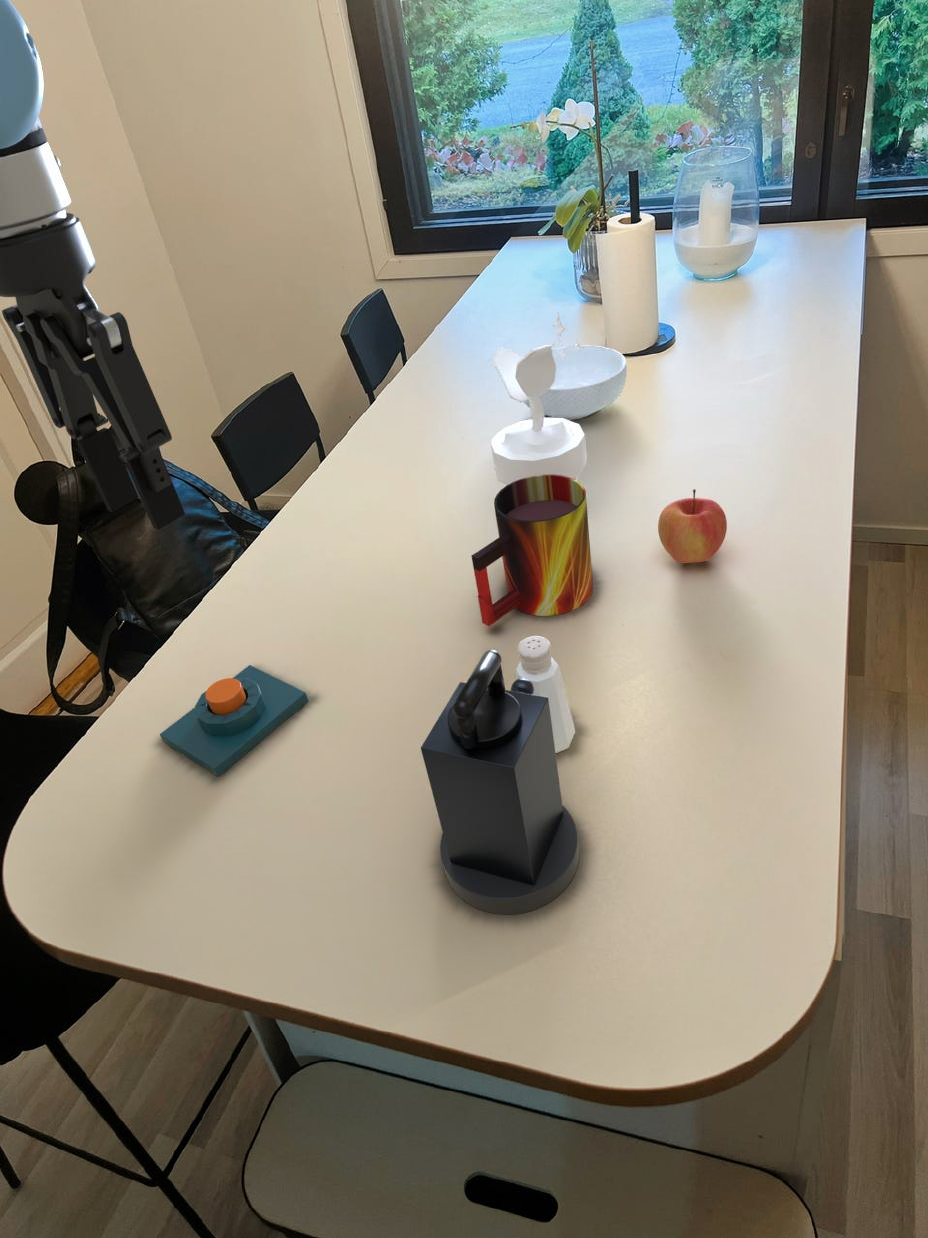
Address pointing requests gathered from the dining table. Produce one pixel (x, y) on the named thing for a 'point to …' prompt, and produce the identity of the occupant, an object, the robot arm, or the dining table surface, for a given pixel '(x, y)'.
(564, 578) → the mug
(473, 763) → the kettle
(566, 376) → the cereal bowl
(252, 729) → the switch block
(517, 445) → the potted plant
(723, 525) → the apple
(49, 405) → the robot arm
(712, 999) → the dining table surface
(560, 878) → the kettle base
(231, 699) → the power button
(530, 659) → the salt shaker
